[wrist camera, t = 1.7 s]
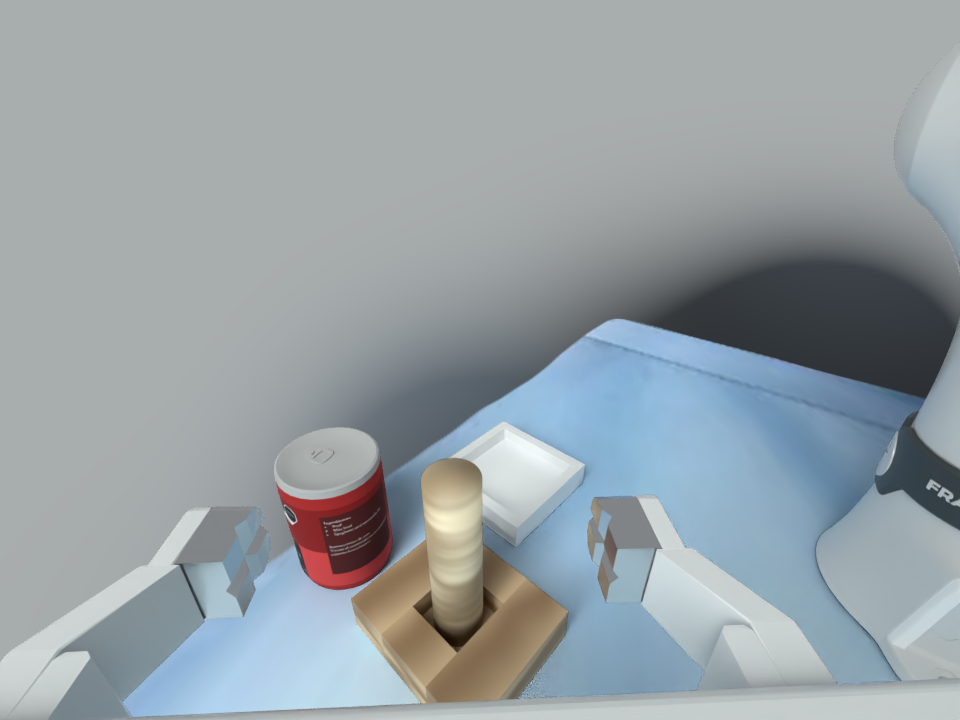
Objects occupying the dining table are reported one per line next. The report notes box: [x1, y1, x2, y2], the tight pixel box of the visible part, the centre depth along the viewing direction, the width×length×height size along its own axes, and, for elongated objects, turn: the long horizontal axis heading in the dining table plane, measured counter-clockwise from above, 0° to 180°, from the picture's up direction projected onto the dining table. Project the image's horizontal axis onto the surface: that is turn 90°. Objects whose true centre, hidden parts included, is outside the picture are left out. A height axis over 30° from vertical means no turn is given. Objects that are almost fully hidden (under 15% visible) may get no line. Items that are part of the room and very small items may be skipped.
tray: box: [449, 421, 585, 547], centre depth 45 cm, size 11×11×2 cm
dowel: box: [421, 458, 483, 647], centre depth 29 cm, size 4×4×14 cm
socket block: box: [351, 540, 568, 703], centre depth 32 cm, size 12×10×5 cm
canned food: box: [274, 427, 392, 590], centre depth 36 cm, size 8×8×11 cm
